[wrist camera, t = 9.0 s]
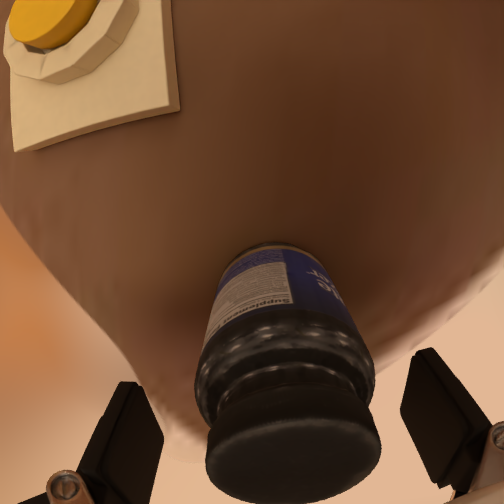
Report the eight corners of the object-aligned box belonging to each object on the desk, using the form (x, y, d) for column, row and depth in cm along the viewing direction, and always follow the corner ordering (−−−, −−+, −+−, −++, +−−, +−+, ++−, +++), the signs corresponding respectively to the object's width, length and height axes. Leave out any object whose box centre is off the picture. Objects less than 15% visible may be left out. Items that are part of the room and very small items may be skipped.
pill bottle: (344, 313, 18) (417, 474, 7) (249, 354, 18) (246, 526, 8) (301, 218, 16) (385, 352, 5) (196, 269, 17) (127, 438, 6)
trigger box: (38, -15, 11) (4, -34, 7) (168, -65, 10) (151, -101, 6) (36, 150, 14) (-9, 155, 11) (180, 111, 14) (157, 99, 10)
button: (32, -3, 8) (13, -12, 7) (100, -35, 8) (85, -51, 7) (27, 62, 10) (4, 56, 8) (98, 30, 9) (79, 18, 8)
